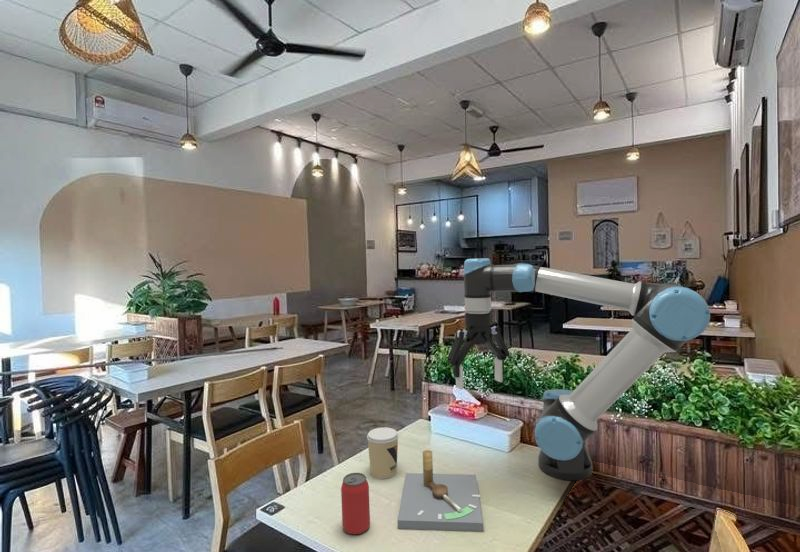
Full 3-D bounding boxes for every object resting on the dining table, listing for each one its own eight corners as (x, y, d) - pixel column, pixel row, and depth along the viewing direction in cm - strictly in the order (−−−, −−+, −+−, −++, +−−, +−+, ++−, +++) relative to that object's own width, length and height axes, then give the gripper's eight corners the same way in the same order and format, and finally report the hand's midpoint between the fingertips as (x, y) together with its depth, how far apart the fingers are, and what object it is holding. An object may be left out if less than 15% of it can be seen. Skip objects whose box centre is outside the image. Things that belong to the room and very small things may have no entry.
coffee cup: (395, 481, 121) (394, 440, 121) (364, 479, 123) (363, 438, 123) (402, 465, 131) (400, 427, 130) (372, 463, 133) (371, 426, 132)
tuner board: (476, 481, 120) (476, 473, 120) (484, 531, 98) (484, 522, 98) (405, 479, 122) (405, 472, 122) (397, 528, 100) (397, 519, 100)
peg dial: (466, 509, 103) (465, 475, 103) (453, 514, 101) (452, 479, 101) (432, 479, 118) (431, 448, 117) (419, 483, 116) (418, 452, 116)
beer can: (337, 527, 102) (335, 478, 101) (358, 515, 106) (356, 468, 106) (354, 540, 97) (352, 488, 96) (375, 526, 101) (374, 477, 101)
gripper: (504, 307, 130) (506, 375, 131) (433, 314, 120) (435, 387, 121) (520, 309, 124) (522, 381, 125) (447, 317, 113) (449, 395, 114)
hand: (479, 384), depth 123 cm, fingers open, 13 cm apart
